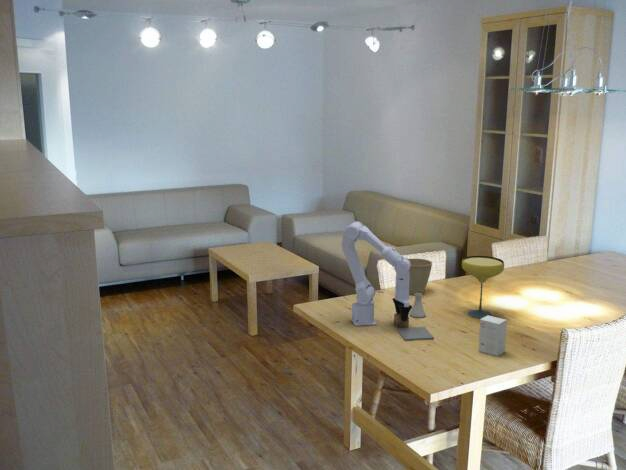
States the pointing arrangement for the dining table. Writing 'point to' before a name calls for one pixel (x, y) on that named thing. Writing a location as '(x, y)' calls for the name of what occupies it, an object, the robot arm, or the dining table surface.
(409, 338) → the coaster
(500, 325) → the small box
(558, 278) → the dining table surface
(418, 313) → the flask
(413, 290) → the plant pot
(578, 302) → the dining table surface
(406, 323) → the walnut cube
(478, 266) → the cocktail glass
